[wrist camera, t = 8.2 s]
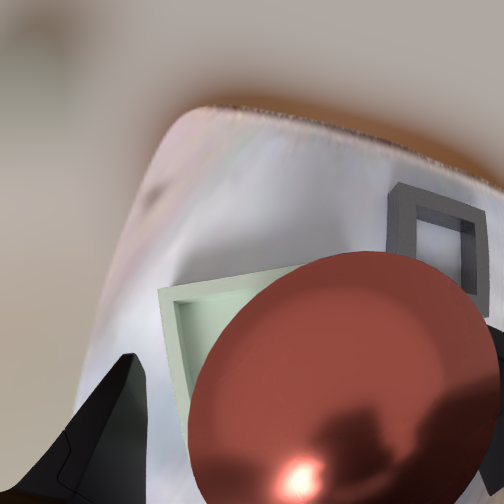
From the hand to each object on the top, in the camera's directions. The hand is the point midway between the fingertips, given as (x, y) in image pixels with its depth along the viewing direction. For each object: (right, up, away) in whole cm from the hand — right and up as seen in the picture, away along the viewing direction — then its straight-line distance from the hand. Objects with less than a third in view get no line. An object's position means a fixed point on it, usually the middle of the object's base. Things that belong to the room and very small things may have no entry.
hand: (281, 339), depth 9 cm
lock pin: (0, -4, +8) cm, 9 cm away
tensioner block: (+13, +2, +11) cm, 17 cm away
